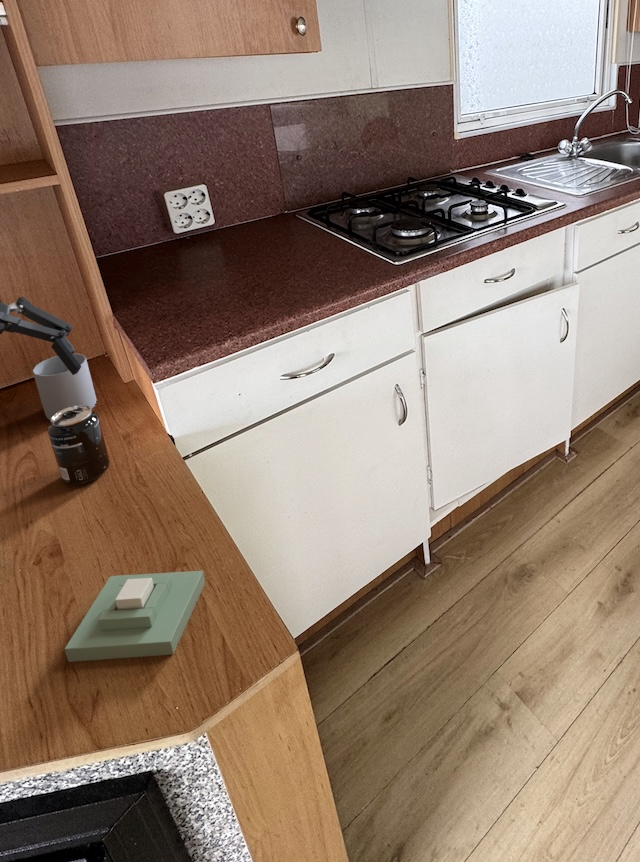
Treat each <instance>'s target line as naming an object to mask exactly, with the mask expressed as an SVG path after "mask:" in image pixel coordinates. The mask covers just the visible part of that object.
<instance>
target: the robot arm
mask: <svg viewBox="0 0 640 862" xmlns="http://www.w3.org/2000/svg"><path fill="white" fill-rule="evenodd" d="M13 312H14V313H16V315H22V316H24V317H25V318H26V319H28V320H30V321H31V322H30V321H27V320H23V319H22V318H20V317H18V316H15V315H11V313H13ZM32 321H33V322H32ZM73 328H74V326H73V325H72V324H70V323H69V322H66V321H65V320H63V319H60V318H59V317H57V316H55V315H52V314H51V313H49V312H47V311H45V310H43V309H41V308H39V307H37V306H35V305H33V304H32V303H31V302H30V301H29V300H28V299H27V298H26V297H25V296H20V297H18V298H17V300H15V301H14V302H12V303H9V304H6V303H4V302H3V301H1V300H0V335H2V334H3V333H4V332H7V333H11V334H14V333H16V334H21V335H24V336H27V337H31V338H35V339H38V340H43V341H46V342H49V343H52V344H51V347H50V348H51V349H52V350H53V351H54V353H55V354H56V356H59V358H60V359H61V360H62V362H63V363H64V364H65V366H66V367H67V368H68V369H69V371H70V372H71V373H72V375H75V374H77V373H78V371H79V370H80V368H81V367H82V366H81V365H80V364H79V362H78V361H77V360H76V359H75V357H74V356H73V354H74V353H75V352H76V351H75V347H74V346H73V345H72V343H71V342H70V341H69V339H68V338H67V337H69V335H70V334H71V332H72V330H73Z"/></svg>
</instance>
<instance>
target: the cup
mask: <svg viewBox="0 0 640 862" xmlns="http://www.w3.org/2000/svg"><path fill="white" fill-rule="evenodd" d="M73 356H74V357H75V359H76V360H77V361H78V362H79V364H80V365H81V366H82V367H81V368H80V370H79V371H78V373H77V374H75V375H72V373H71V372H70V371H69V369H68V368H67V367H66V366H65V364H64V363H63V362H62V360H61V359H60V358H59V356H58V355H55V356H52V357H49V358H47V359H45V360H43V361H41V362H39V363H37V364H36V365H35V366H34V367H33V369H32V373H33V376H34V380H35V384H36V387H37V391H38V394H39V398H40V401H41V405H42V408H43V413H44V415H45V417H46V418H47V420H50V419H51V417H52V416H53V415H54V414H56V413H57V412H59V411H61V410H63V409H65V408H68V407H71V406H76V405H87V406H90V407H91V409H92V410H93V409H94V407H96V405H95V404H97V402H96V401H98V399H97V396H96V392H95V388H94V384H93V380H92V375H91V372H90V368H89V363H88V361H87V357H86V356H85V355H84V354H81V353H75V352H74V353H73Z"/></svg>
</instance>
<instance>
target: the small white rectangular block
mask: <svg viewBox="0 0 640 862" xmlns="http://www.w3.org/2000/svg"><path fill="white" fill-rule="evenodd" d="M153 589H154V585H153V581H152V578H140V579H127V581H126V582H125V584H124V586H123V588H122V589H121V591H120V593H119V594H118V596H117V598H116V599H115V602H116V606H117V609H118V610H130V609H143V607H144V606H145V604H146V602H147V600H148V598H149V596H150V594H151V593H152V591H153Z"/></svg>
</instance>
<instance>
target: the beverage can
mask: <svg viewBox="0 0 640 862" xmlns="http://www.w3.org/2000/svg"><path fill="white" fill-rule="evenodd" d="M99 417H100V416H99V414H98V413H97V412H96V411H94V410H93V408H92V409H91V407H90V406H87V405H76V406H71V407H68V408H65V409H63V410H61V411H59V412H57V413H56V414H54V415H53V416H52V417H51V419H49V423H50V424H49V426H48V427H47V434H48V438H49V441H50V444H51V448H52V451H53V455H54V458H55V462H56V464H57V469H58V472H59V475H60V478H61V480H62V482H63V483H65V484H68V485H84V484H88V483H91V482H93V481H95V480H97V479H98V478H100V477H101V476H102V475H103V474H104V473H105V472H106V471H107V470H108V469H109V467H110V464H111V462H110V461H111V460H110V456H109V453H108V449H107V444H106V441H105V437H104V433H103V429H102V424H101V421H100V418H99Z"/></svg>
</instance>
